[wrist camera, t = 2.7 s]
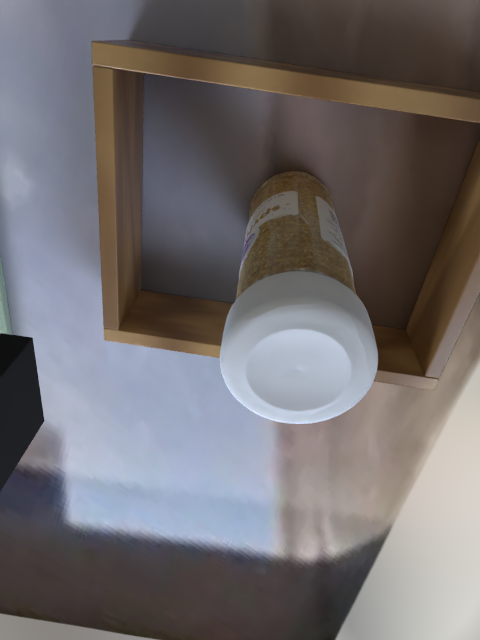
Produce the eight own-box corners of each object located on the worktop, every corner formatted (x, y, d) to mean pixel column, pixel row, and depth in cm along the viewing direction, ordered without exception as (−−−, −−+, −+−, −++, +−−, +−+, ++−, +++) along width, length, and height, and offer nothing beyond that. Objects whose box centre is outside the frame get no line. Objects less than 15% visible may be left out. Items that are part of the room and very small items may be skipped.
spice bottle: (250, 167, 23) (217, 296, 12) (341, 171, 23) (397, 308, 11) (247, 250, 26) (217, 424, 14) (329, 255, 25) (365, 437, 14)
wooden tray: (513, 97, 21) (565, 111, 17) (413, 342, 28) (434, 390, 24) (126, 39, 21) (91, 40, 17) (128, 299, 28) (103, 340, 24)
